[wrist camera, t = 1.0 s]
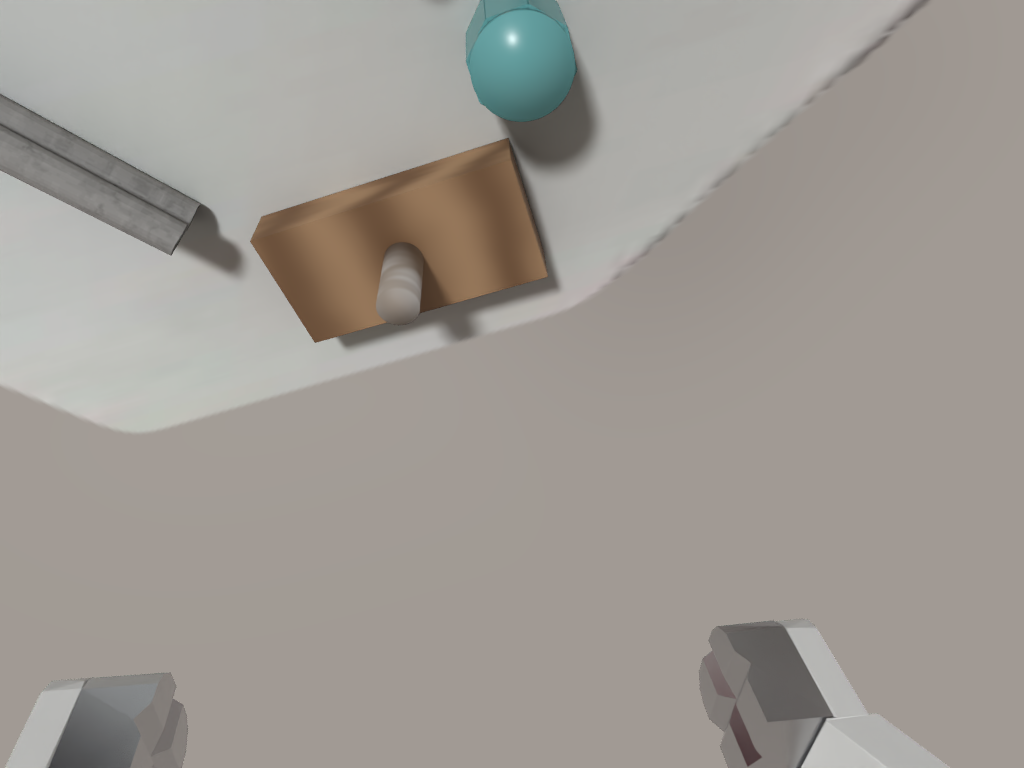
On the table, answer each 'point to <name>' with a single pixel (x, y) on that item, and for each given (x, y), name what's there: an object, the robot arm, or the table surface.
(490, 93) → the cap
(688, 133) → the table surface
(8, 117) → the metal rod assembly
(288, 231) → the stud block
